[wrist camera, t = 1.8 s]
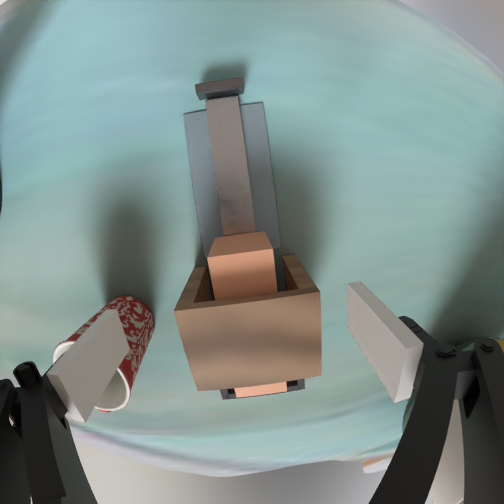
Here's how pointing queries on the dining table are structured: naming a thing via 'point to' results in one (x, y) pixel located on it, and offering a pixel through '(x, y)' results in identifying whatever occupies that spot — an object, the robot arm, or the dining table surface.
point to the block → (244, 279)
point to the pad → (257, 174)
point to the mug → (138, 336)
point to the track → (228, 154)
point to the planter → (450, 449)
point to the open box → (251, 332)
